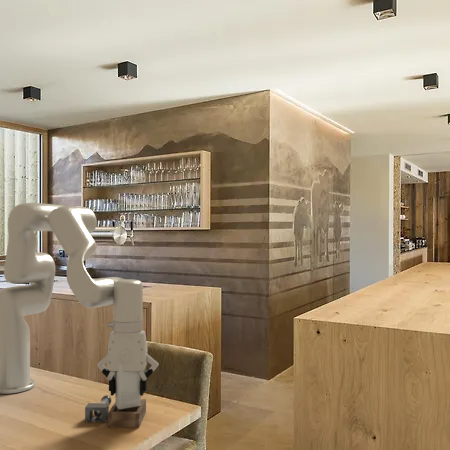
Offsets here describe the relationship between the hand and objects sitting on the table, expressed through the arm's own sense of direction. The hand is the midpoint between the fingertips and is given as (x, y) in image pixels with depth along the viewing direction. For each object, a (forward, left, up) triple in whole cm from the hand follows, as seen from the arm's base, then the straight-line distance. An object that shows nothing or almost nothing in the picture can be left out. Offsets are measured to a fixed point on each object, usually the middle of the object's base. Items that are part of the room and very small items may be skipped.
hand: (127, 393), depth 126 cm
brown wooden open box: (0, 0, -7) cm, 7 cm away
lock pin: (-8, +5, -7) cm, 12 cm away
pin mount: (-8, 0, -7) cm, 10 cm away
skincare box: (0, 0, -4) cm, 4 cm away
